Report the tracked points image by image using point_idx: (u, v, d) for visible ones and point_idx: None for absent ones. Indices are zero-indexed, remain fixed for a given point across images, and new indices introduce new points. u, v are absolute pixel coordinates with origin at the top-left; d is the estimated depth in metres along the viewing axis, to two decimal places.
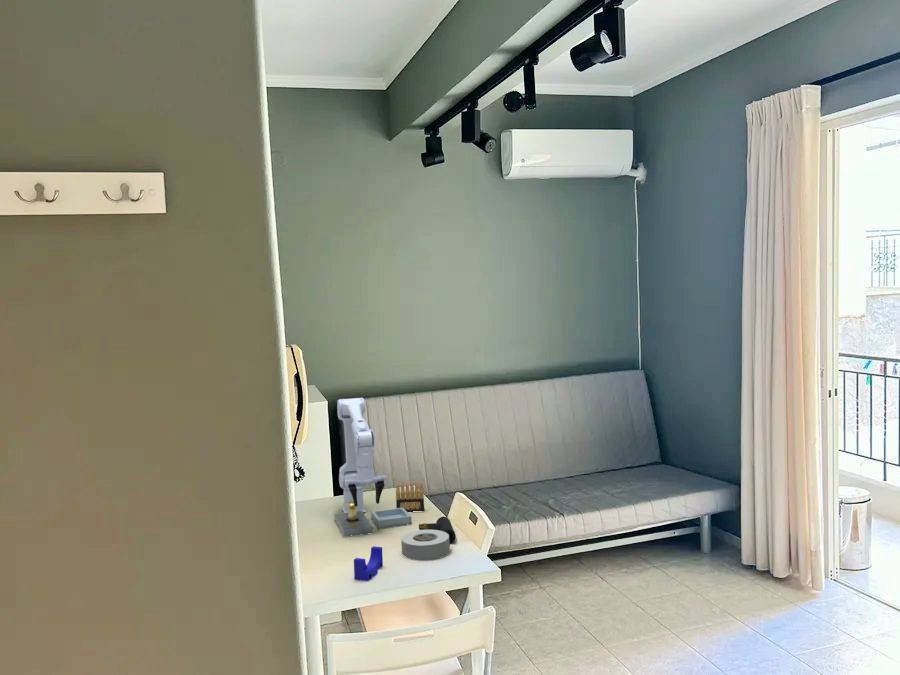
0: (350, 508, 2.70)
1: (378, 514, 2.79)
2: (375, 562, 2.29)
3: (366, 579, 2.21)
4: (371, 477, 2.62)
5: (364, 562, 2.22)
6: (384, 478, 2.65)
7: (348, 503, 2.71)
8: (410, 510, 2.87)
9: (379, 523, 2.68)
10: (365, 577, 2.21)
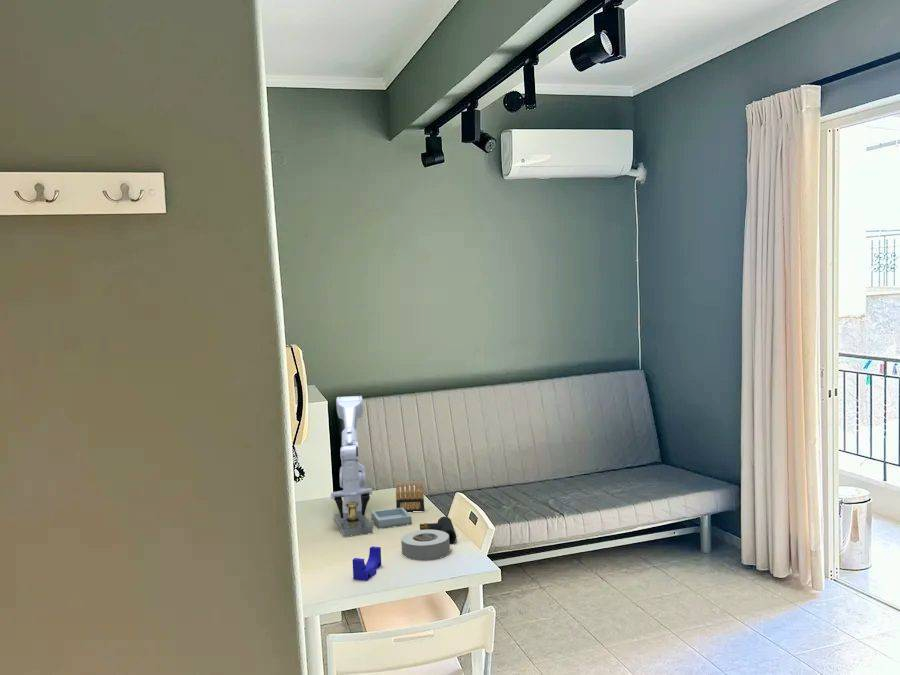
0: (350, 508, 2.70)
1: (378, 514, 2.79)
2: (374, 562, 2.29)
3: (365, 579, 2.21)
4: (357, 490, 2.69)
5: (363, 562, 2.22)
6: (369, 491, 2.72)
7: (348, 503, 2.71)
8: (410, 510, 2.87)
9: (379, 523, 2.68)
10: (364, 577, 2.21)
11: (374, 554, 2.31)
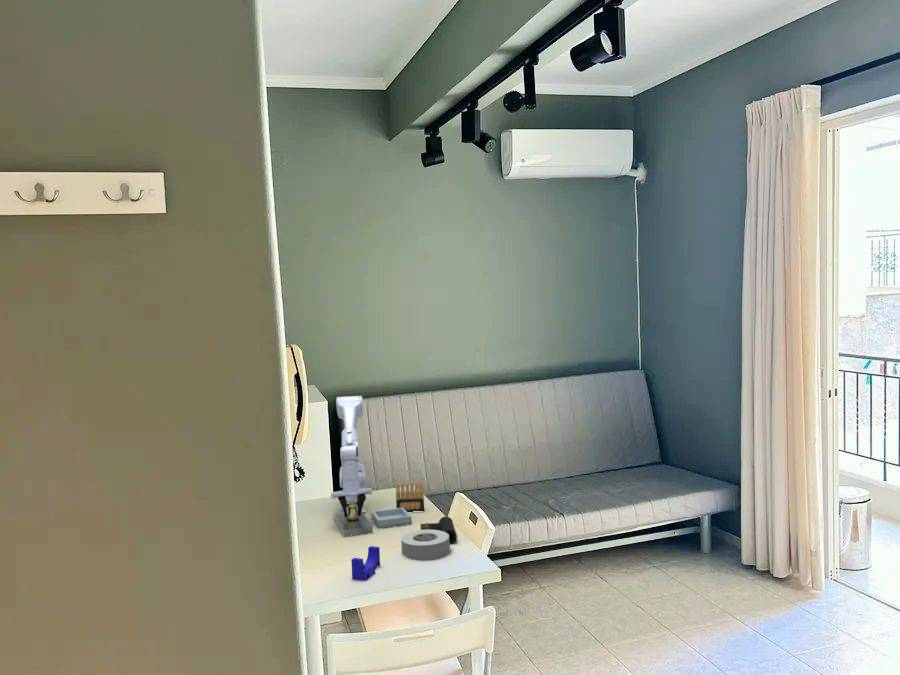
0: (350, 508, 2.70)
1: (378, 514, 2.79)
2: (372, 562, 2.29)
3: (364, 579, 2.21)
4: (357, 490, 2.69)
5: (362, 562, 2.22)
6: (369, 491, 2.72)
7: (348, 503, 2.71)
8: (410, 510, 2.87)
9: (379, 523, 2.68)
10: (363, 577, 2.21)
11: (373, 554, 2.31)
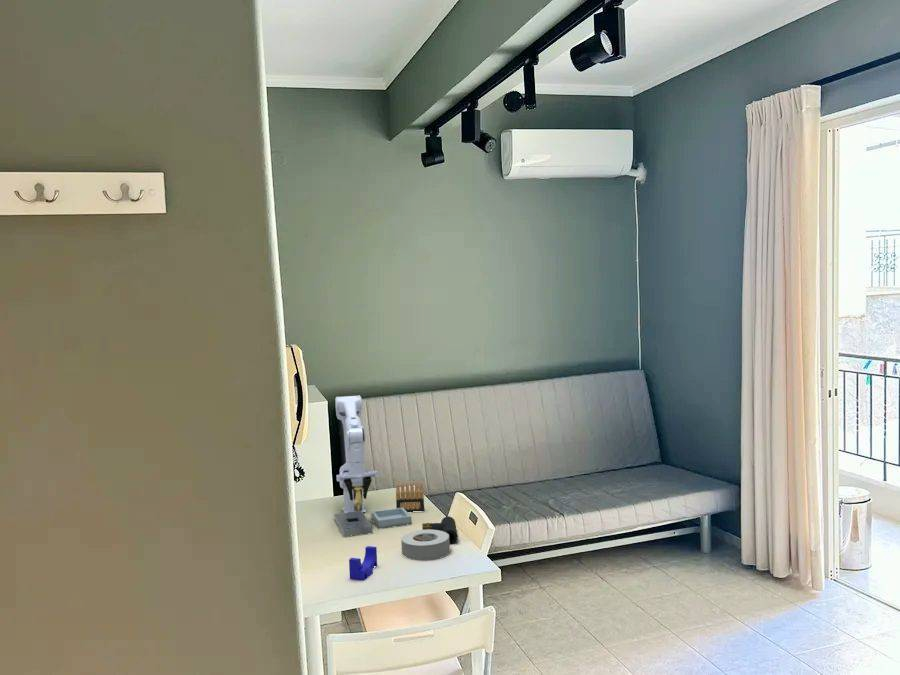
0: (356, 491, 2.70)
1: (378, 514, 2.79)
2: (370, 562, 2.30)
3: (362, 579, 2.21)
4: (362, 472, 2.69)
5: (359, 562, 2.22)
6: (375, 473, 2.72)
7: (354, 486, 2.71)
8: (410, 510, 2.87)
9: (379, 523, 2.68)
10: (361, 577, 2.21)
11: (370, 554, 2.31)
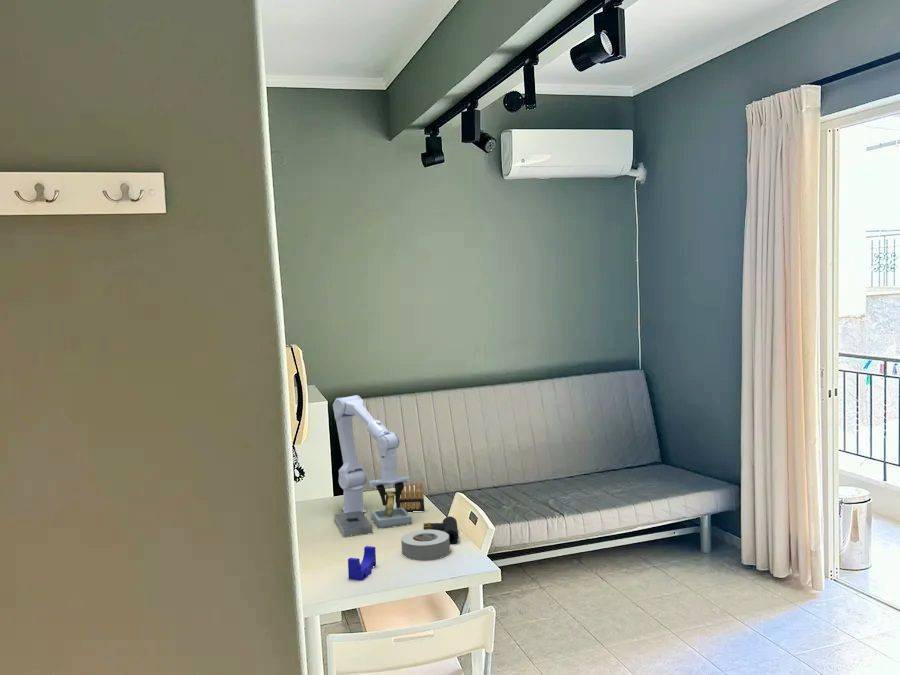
0: (388, 497, 2.74)
1: (378, 514, 2.79)
2: (368, 562, 2.30)
3: (360, 579, 2.21)
4: (395, 478, 2.73)
5: (358, 562, 2.22)
6: (407, 479, 2.76)
7: (386, 492, 2.75)
8: (410, 510, 2.87)
9: (379, 523, 2.68)
10: (359, 577, 2.21)
11: (369, 554, 2.31)
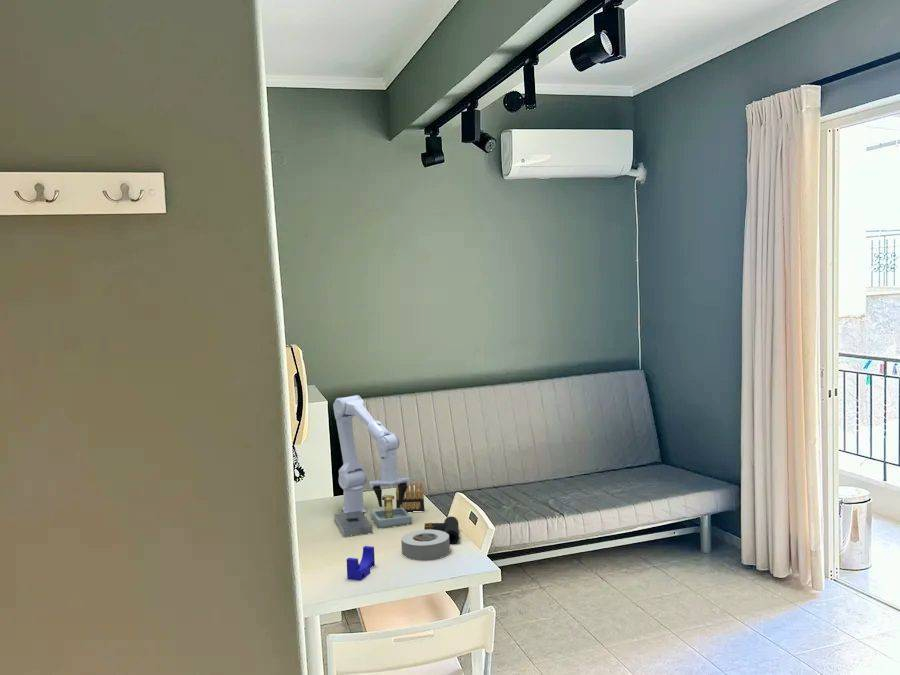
0: (386, 501, 2.74)
1: (378, 514, 2.79)
2: (367, 562, 2.30)
3: (359, 579, 2.21)
4: (395, 479, 2.73)
5: (357, 562, 2.22)
6: (407, 480, 2.76)
7: (384, 496, 2.75)
8: (410, 510, 2.87)
9: (379, 523, 2.68)
10: (358, 577, 2.21)
11: (367, 554, 2.31)
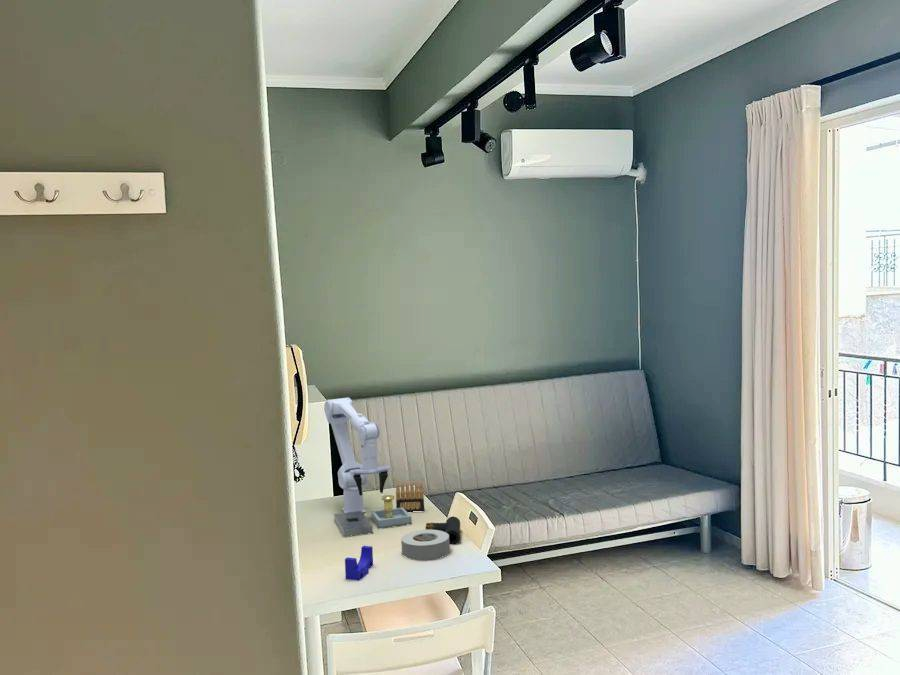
0: (386, 501, 2.74)
1: (378, 514, 2.79)
2: (366, 561, 2.30)
3: (357, 578, 2.21)
4: (375, 468, 2.76)
5: (355, 561, 2.22)
6: (387, 469, 2.78)
7: (384, 496, 2.75)
8: (410, 510, 2.87)
9: (379, 523, 2.68)
10: (356, 576, 2.22)
11: (366, 553, 2.31)
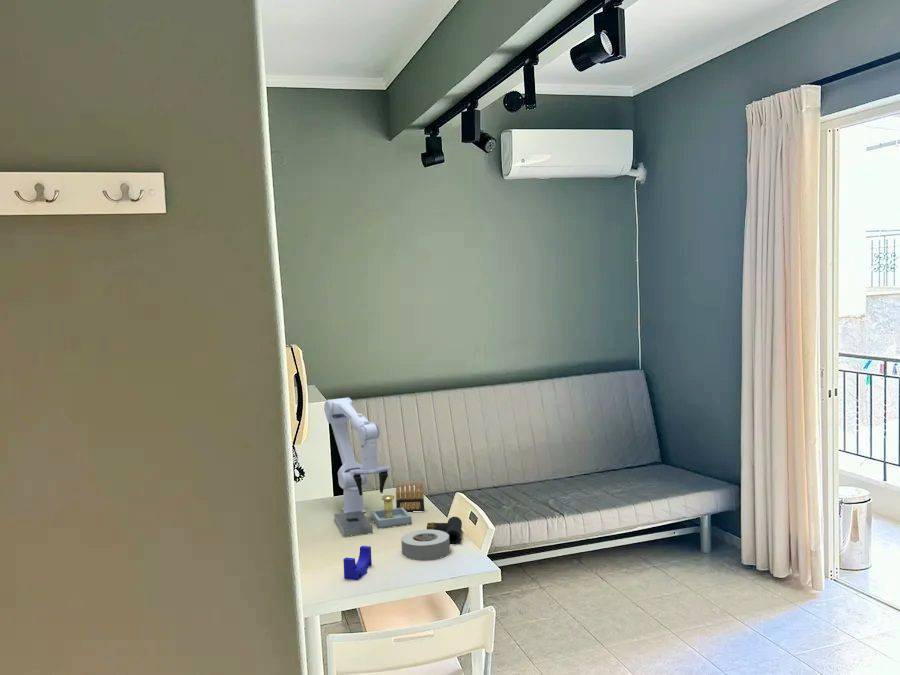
0: (386, 501, 2.74)
1: (378, 514, 2.79)
2: (364, 561, 2.30)
3: (356, 578, 2.22)
4: (375, 468, 2.76)
5: (354, 561, 2.23)
6: (387, 469, 2.78)
7: (384, 496, 2.75)
8: (410, 510, 2.87)
9: (379, 523, 2.68)
10: (355, 576, 2.22)
11: (364, 553, 2.32)
